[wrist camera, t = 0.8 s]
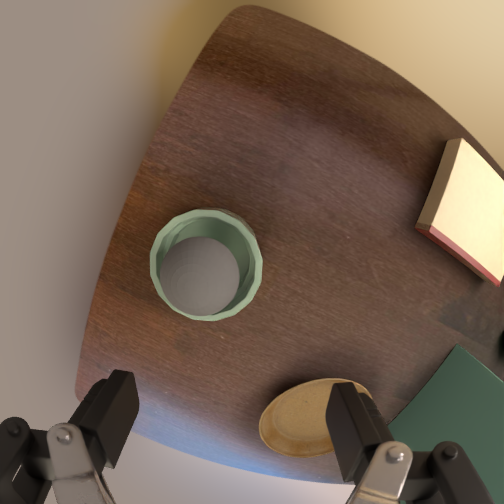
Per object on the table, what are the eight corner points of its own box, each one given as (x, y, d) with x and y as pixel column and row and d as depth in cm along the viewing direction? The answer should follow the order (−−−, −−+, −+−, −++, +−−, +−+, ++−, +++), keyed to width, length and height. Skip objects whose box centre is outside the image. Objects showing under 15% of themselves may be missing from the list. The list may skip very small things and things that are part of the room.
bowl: (166, 205, 28) (150, 207, 23) (262, 210, 28) (266, 213, 23) (165, 297, 30) (151, 315, 25) (256, 303, 30) (257, 324, 25)
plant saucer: (234, 419, 33) (234, 432, 31) (315, 345, 31) (320, 357, 29) (312, 455, 35) (314, 467, 33) (386, 395, 33) (393, 406, 30)
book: (413, 227, 29) (428, 231, 26) (446, 140, 27) (462, 137, 24) (484, 281, 30) (498, 287, 27) (511, 206, 28) (526, 208, 25)
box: (421, 465, 38) (467, 551, 12) (356, 453, 36) (402, 580, 10) (499, 378, 34) (575, 450, 9) (456, 343, 32) (571, 447, 6)
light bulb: (210, 213, 28) (190, 223, 18) (254, 257, 28) (257, 290, 19) (169, 256, 28) (132, 286, 19) (211, 297, 29) (195, 345, 19)
